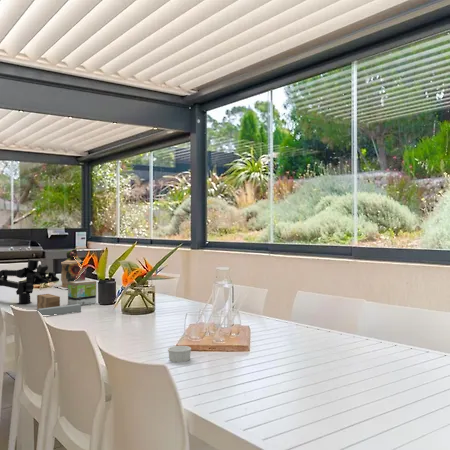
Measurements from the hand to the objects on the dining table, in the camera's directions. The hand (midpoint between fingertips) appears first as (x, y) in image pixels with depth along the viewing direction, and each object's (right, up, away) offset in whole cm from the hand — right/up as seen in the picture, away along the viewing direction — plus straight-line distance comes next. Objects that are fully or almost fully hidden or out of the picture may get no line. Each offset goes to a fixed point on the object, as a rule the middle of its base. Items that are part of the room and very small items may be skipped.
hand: (53, 280), depth 301 cm
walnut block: (+2, -16, -15) cm, 22 cm away
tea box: (+15, -16, +9) cm, 24 cm away
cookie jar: (-16, -16, +91) cm, 93 cm away
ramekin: (+90, -17, -117) cm, 149 cm away
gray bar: (+13, -17, -26) cm, 33 cm away
